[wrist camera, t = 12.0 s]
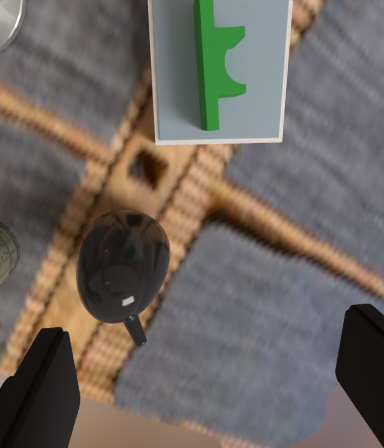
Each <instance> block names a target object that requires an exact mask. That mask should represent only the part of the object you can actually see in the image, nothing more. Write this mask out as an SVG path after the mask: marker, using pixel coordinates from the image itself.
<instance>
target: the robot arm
mask: <svg viewBox="0 0 384 448" xmlns="http://www.w3.org/2000/svg"><path fill="white" fill-rule="evenodd" d="M25 11H26V0H0V52H1V51H2V50H3V49H5V48H6V47H7V46H8V45H10V44H11V42H12V41H13V40H14V38H15V37H16V36H17V34H18V32H19V30H20V28H21V26H22V24H23V20H24V16H25ZM335 373H336V378H337V380H338V382H339V383H340V385H341V386H342V388H343V389H344V391H345V392H346V394H347V395H348V396H349V398H350V399H351V401H352V402H353V404H354V405H355V407H356V408H357V410H358V411H359V413H360V414H361V416H362V417H363V418H364V420H365V421H366V423H367V424H368V426H369V427H370V429H371V430H372V431H373V433H374V434H375V436H376V437H377V439H378V440H379V442H380V443H381V445H382V446H383V448H384V315H383V314H382V313H381V312H379V311H378V310H377V309H376V308H375V307H374V306H372V305H371V304H357V305H351V306H350V308H349V309H348V310H347V311H346V313H345V318H344V323H343V329H342V335H341V341H340V346H339V352H338V358H337V363H336V369H335ZM79 406H80V392H79V386H78V381H77V375H76V370H75V364H74V359H73V353H72V348H71V342H70V337H69V333H68V332H67V331H64V332H63V329H62V328H61V327H55V328H43V329H41V330H40V331H39V333H38V335H37V337H36V338H35V340H34V342H33V343H32V345H31V347H30V349H29V350H28V352H27V354H26V355H25V357H24V359H23V361H22V362H21V364H20V366H19V367H18V369H17V371H16V373H15V374H14V376H10V377H8V378H7V379H6V380H5V382H4V383H3V385H2V386H1V388H0V448H68V445H69V441H70V438H71V434H72V431H73V427H74V424H75V420H76V417H77V413H78V410H79Z"/></svg>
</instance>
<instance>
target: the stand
mask: <svg viewBox="0 0 384 448" xmlns="http://www.w3.org/2000/svg"><path fill="white" fill-rule="evenodd" d="M194 1H195V0H148V14H149V32H150V51H151V69H152V87H153V105H154V124H155V142H156V145H187V144H227V143H268V142H282V133H283V120H284V108H285V95H286V82H287V69H288V56H289V43H290V30H291V17H292V4H293V0H213V7H214V27H215V28H221V27H236V26H245V37H244V38H243V39H242V40H241V41H240V42H239V43H238V44H237V45H236V46H235V47H234V48H232V49H228V50H227V51H226V54H225V67H226V71H227V73H228V75H229V76H230V77H231V78H232V79H233V80H234V81H236V82H238V83H241V84H246V93H245V94H242V95H239V96H236V97H229V98H218V109H219V129H220V130H215V131H204V130H201V116H200V102H199V87H198V72H197V58H196V43H195V28H194V14H193V5H194Z"/></svg>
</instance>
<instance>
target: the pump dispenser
mask: <svg viewBox="0 0 384 448" xmlns="http://www.w3.org/2000/svg"><path fill="white" fill-rule="evenodd" d="M169 262H170V244H169V240H168V237H167V235H166V233H165V231H164V229H163V228H162V227H161V225H160V224H159V223H158V222H157V221H156V220H154V219H153V218H152V217H150V216H148V215H146V214H144V213H142V212H139V211H134V210H115V211H111V212H108V213H106V214H104V215H102V216H100V217H99V218H97V219H96V220H95V221H94V222H93V223H92V224H91V225H90V226H89V227H88V229H87V230H86V232H85V233H84V235H83V237H82V240H81V242H80V246H79V249H78V253H77V259H76V282H77V289H78V293H79V296H80V299H81V302H82V304H83V305H84V307H85V309H86V310H87V311H88V312H89V313H90V315H92V316H93V317H94V318H95V319H97V320H99V321H101V322H103V323H109V324H115V323H122V322H123V323H124V325H125V327H126V328H127V330H128V332H129V334H130V336H131V338H132V340H133V341H134V343H135V345H136V346H137V347H141V346H143V345H144V344H145V343H146V342H147V339H146V336H145V334H144V331H143V328H142V325H141V322H140V319H139V316H138V315H139V314H140V313H141V312H142V311H144V310H145V309H146V308H147V307H148V306H149V304H150V303H151V302H152V301H153V299H154V298H155V297H156V295H157V294H158V292H159V290H160V288H161V286H162V284H163V282H164V280H165V277H166V274H167V271H168V267H169Z"/></svg>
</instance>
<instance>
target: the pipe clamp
mask: <svg viewBox="0 0 384 448" xmlns="http://www.w3.org/2000/svg"><path fill="white" fill-rule="evenodd" d="M193 14H194V28H195V43H196V58H197V72H198V87H199V102H200V116H201V130H204V131H215V130H220V129H219V109H218V98H229V97H236V96H239V95H242V94H245V93H246V84H241V83H238V82H236V81H234V80H233V79H232V78H231V77H230V76H229V75H228V73H227V71H226V67H225V54H226V51H227V50H228V49H232V48H234V47H235V46H236V45H237V44H238V43H239V42H240V41H241V40H242V39H243V38H244V37H245V26H236V27H221V28H215V27H214V7H213V0H195V1H194V5H193Z"/></svg>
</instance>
